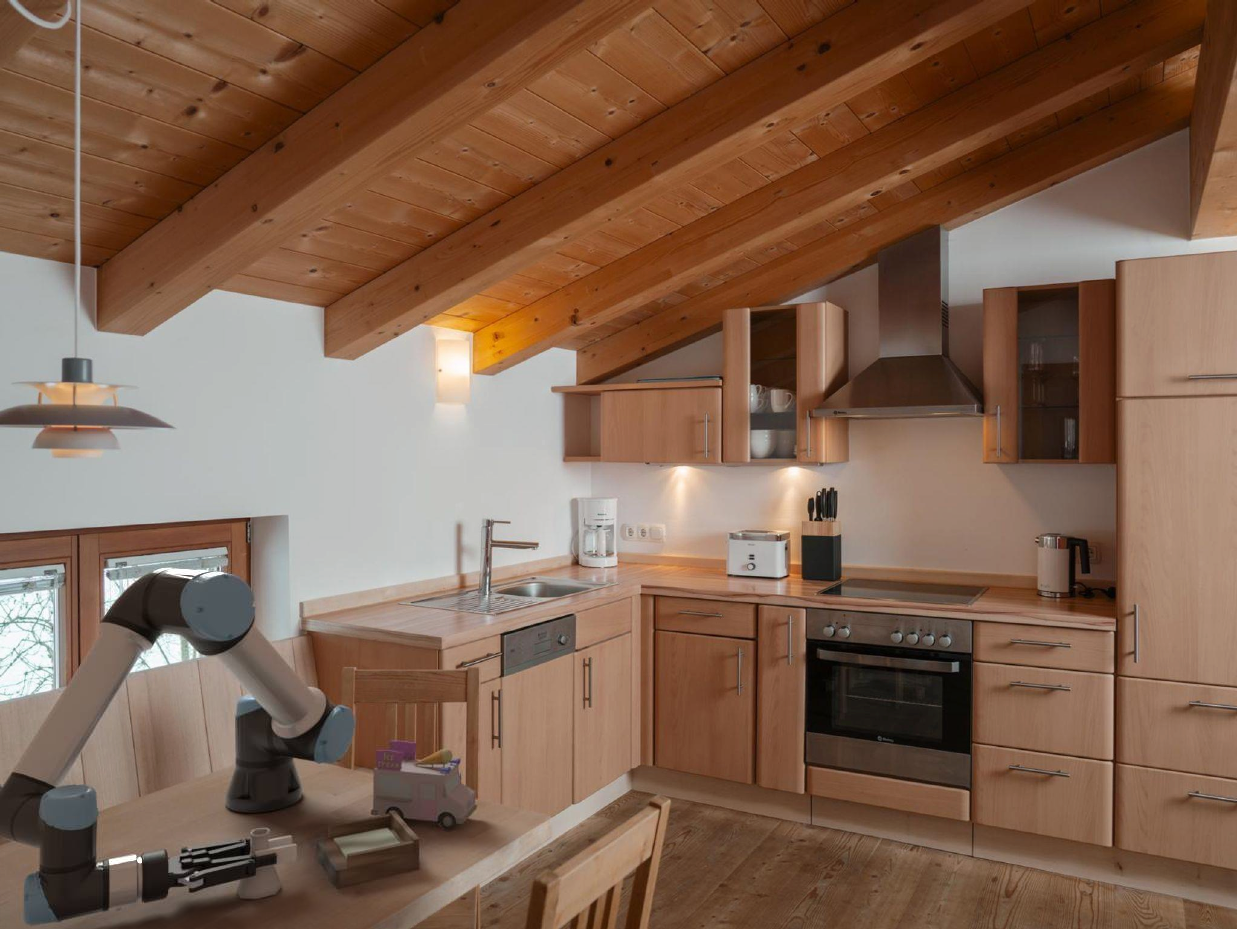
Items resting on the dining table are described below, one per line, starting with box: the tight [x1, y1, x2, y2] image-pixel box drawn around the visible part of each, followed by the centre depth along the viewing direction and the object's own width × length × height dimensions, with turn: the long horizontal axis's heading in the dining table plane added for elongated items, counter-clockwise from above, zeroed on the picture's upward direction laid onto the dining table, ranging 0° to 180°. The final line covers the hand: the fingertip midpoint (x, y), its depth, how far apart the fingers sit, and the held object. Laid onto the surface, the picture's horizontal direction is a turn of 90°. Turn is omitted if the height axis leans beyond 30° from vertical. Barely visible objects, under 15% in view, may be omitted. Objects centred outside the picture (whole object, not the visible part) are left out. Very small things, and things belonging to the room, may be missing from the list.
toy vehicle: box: [370, 739, 478, 831], centre depth 183 cm, size 9×20×15 cm, turn 78°
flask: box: [236, 827, 283, 900], centre depth 153 cm, size 7×7×10 cm
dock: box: [315, 810, 421, 889], centre depth 164 cm, size 15×15×6 cm
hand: (293, 847), depth 156 cm, fingers closed on flask, 3 cm apart
